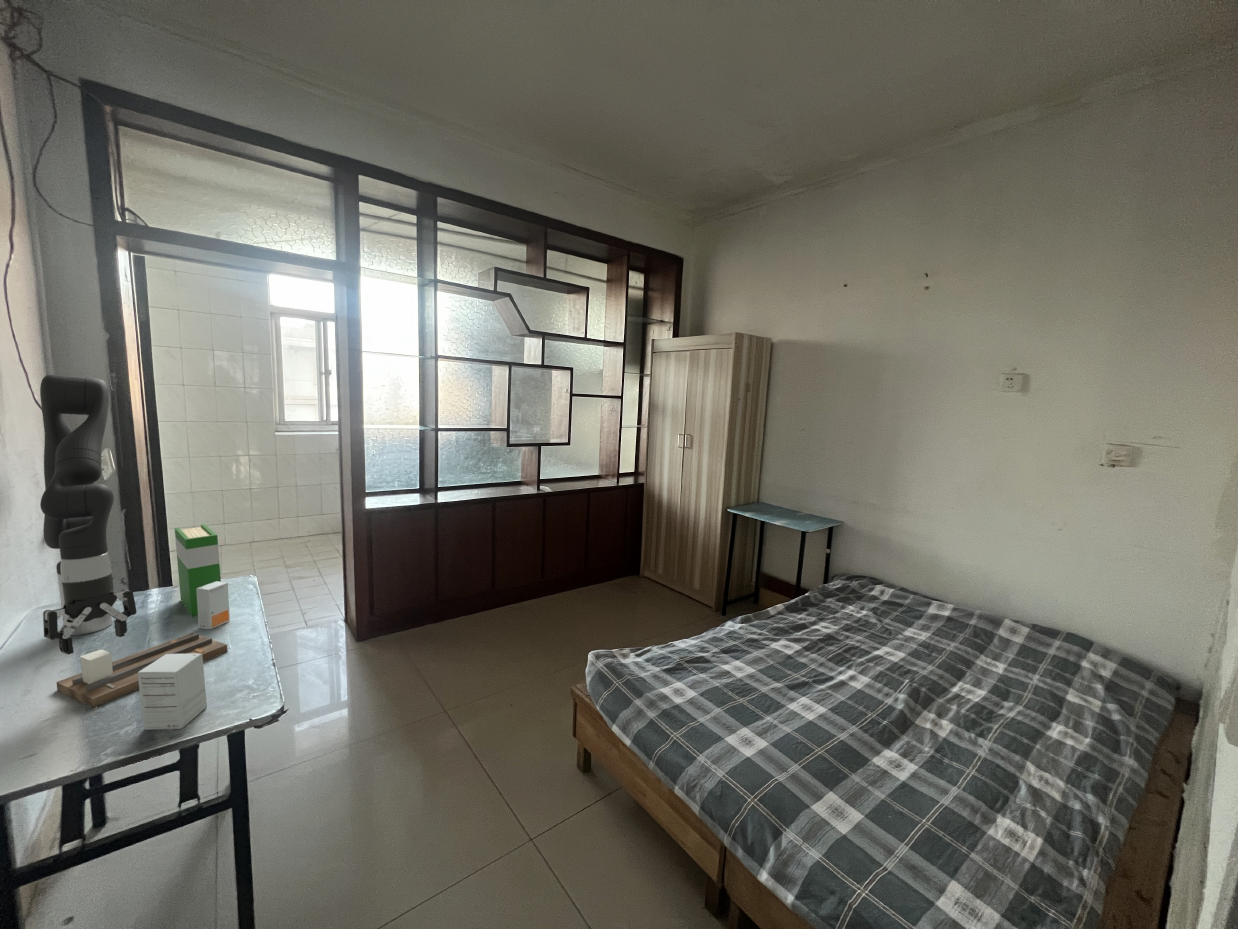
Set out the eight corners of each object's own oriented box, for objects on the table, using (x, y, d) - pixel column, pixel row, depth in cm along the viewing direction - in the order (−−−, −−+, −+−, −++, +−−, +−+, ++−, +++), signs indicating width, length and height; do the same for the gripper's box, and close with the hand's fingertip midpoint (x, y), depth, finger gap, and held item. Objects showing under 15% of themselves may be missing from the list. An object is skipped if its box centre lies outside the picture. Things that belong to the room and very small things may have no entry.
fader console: (57, 690, 111) (55, 677, 110) (192, 639, 135) (191, 628, 134) (93, 707, 105) (91, 693, 105) (227, 651, 129) (226, 640, 129)
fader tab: (83, 681, 110) (80, 656, 110) (103, 673, 114) (101, 649, 113) (92, 685, 109) (89, 660, 108) (113, 677, 112) (110, 653, 111)
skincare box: (210, 630, 140) (207, 590, 139) (198, 628, 141) (195, 588, 140) (231, 621, 146) (228, 582, 145) (219, 619, 147) (216, 580, 146)
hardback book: (180, 600, 159) (174, 528, 156) (210, 594, 165) (204, 524, 162) (191, 617, 148) (185, 539, 145) (222, 609, 153) (217, 534, 150)
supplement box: (171, 708, 106) (166, 652, 104) (208, 707, 107) (203, 652, 105) (141, 730, 99) (135, 672, 97) (181, 729, 100) (176, 671, 98)
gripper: (119, 562, 116) (126, 628, 118) (31, 582, 103) (40, 655, 105) (138, 567, 113) (145, 634, 115) (49, 588, 100) (58, 663, 102)
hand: (95, 644), depth 110 cm, fingers open, 8 cm apart
